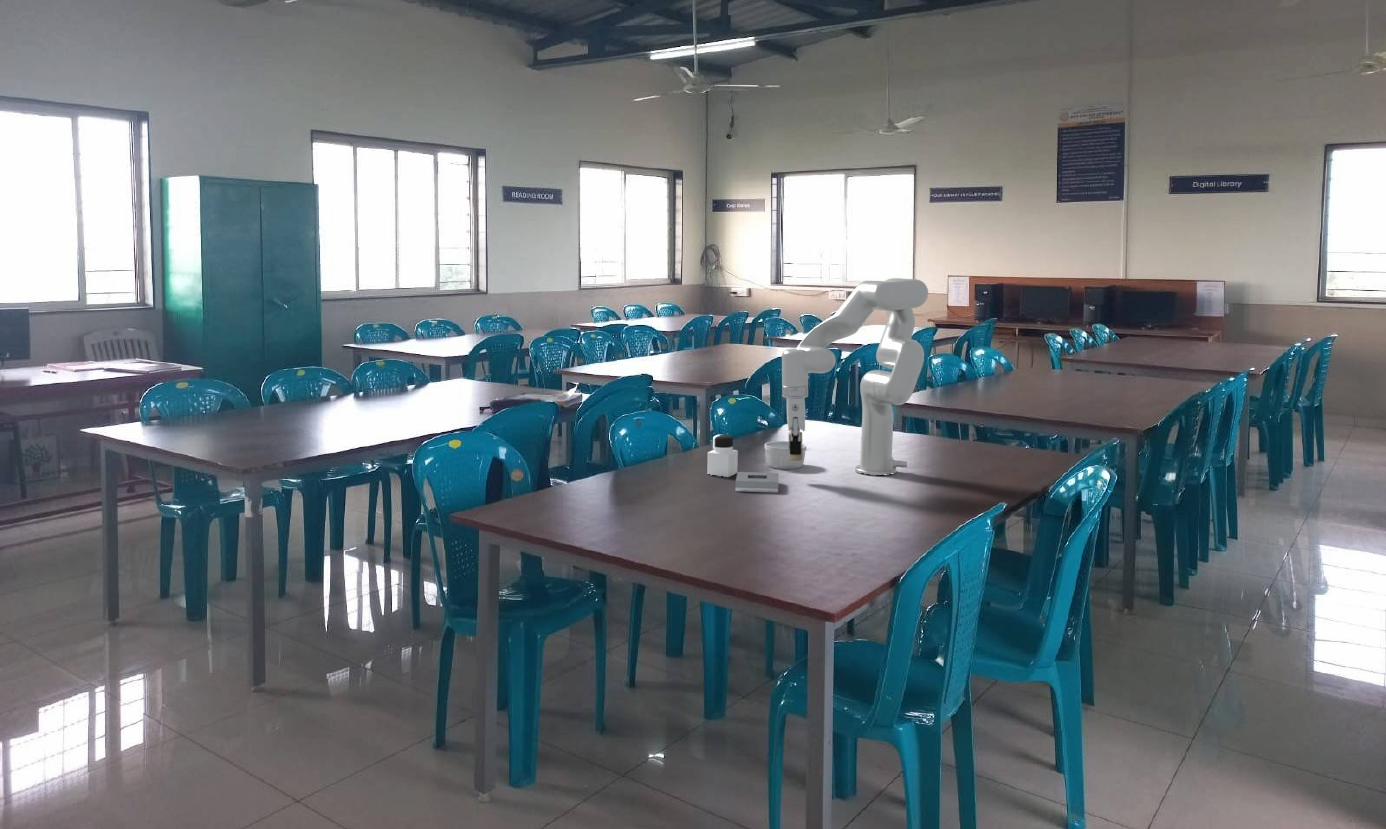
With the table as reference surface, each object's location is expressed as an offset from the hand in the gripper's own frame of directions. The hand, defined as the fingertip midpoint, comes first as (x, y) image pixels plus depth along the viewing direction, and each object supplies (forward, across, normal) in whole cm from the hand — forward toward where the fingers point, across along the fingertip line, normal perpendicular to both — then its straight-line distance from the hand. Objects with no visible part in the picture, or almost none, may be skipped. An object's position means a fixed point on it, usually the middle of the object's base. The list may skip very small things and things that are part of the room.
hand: (795, 452), depth 304 cm
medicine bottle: (+8, +6, +22) cm, 24 cm away
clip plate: (+8, -10, +11) cm, 17 cm away
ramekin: (+9, +21, +3) cm, 23 cm away
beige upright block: (+2, 0, 0) cm, 2 cm away
